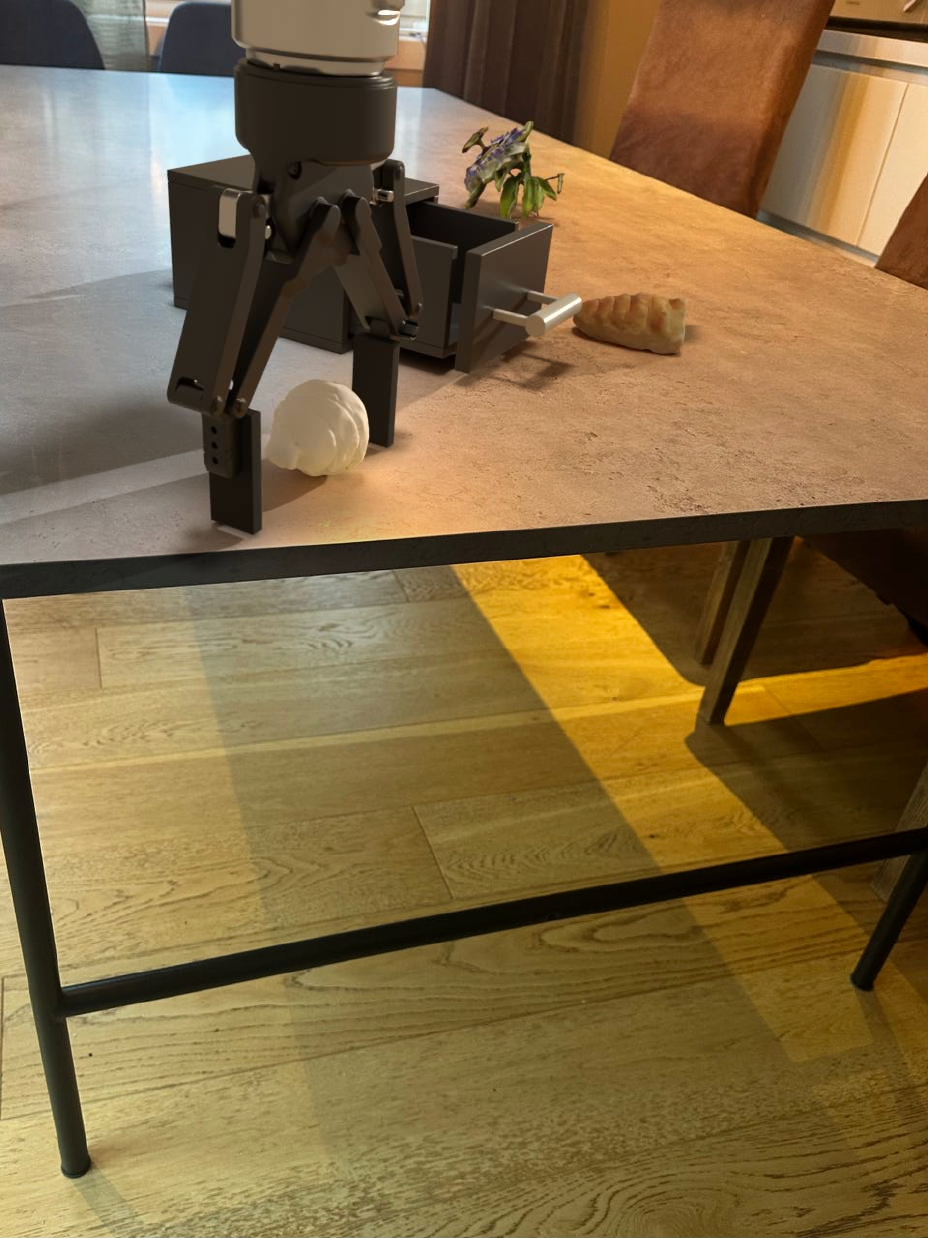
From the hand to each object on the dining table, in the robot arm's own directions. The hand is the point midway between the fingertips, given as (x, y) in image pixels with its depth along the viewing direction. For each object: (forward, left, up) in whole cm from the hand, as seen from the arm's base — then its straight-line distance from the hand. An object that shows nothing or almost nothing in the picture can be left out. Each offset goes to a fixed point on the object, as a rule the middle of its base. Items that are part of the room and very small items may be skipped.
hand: (309, 479), depth 60 cm
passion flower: (-21, +71, 0) cm, 74 cm away
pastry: (+6, +39, 0) cm, 39 cm away
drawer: (-5, +26, +1) cm, 26 cm away
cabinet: (-18, +26, 0) cm, 31 cm away
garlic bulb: (0, 0, 0) cm, 0 cm away
